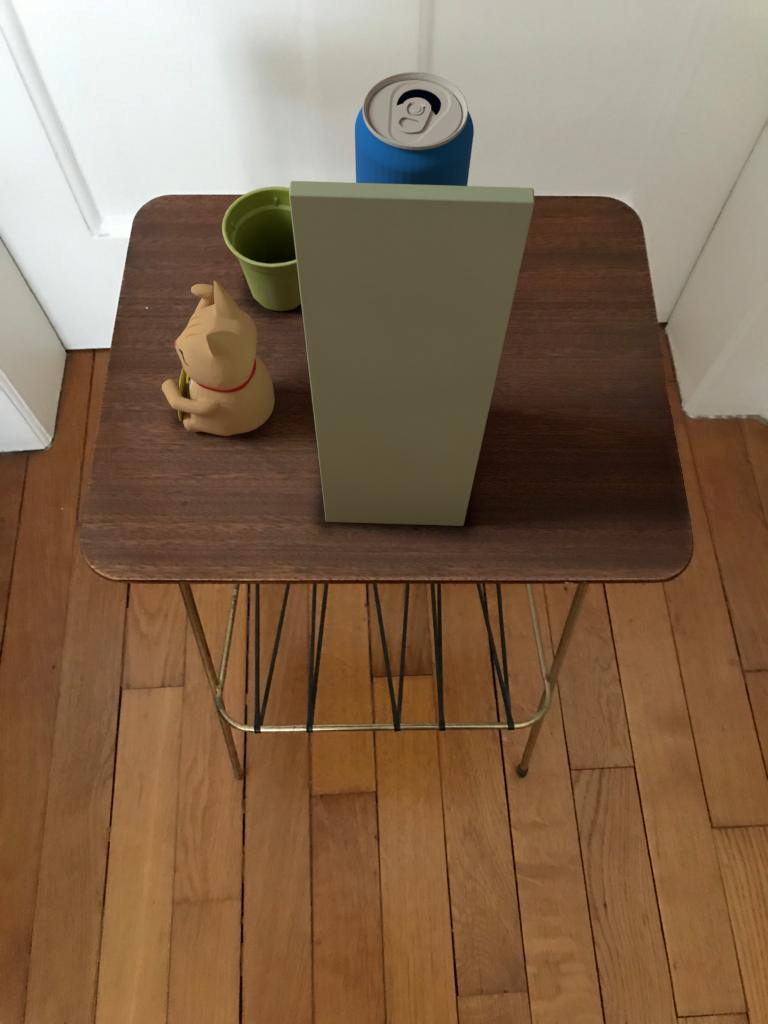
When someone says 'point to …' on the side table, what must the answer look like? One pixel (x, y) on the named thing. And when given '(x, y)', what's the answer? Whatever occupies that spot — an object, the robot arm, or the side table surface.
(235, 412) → the figurine
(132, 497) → the side table surface
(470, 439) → the shelf
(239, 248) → the plant pot
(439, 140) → the beverage can
